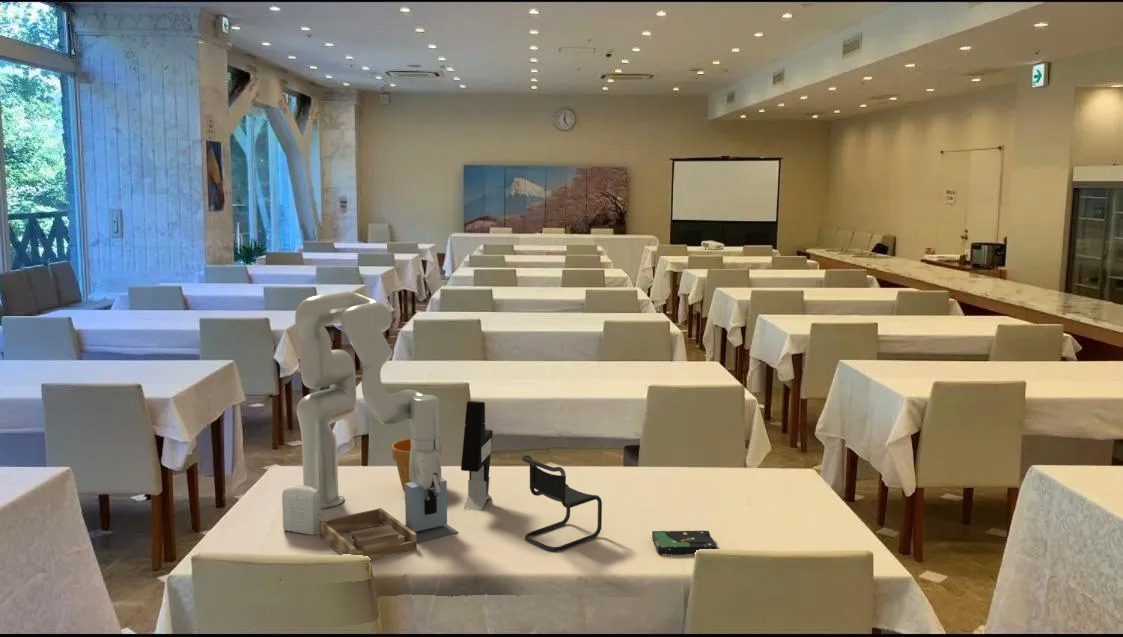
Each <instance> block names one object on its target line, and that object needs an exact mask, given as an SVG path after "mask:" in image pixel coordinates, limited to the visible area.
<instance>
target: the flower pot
mask: <svg viewBox="0 0 1123 637" xmlns="http://www.w3.org/2000/svg"><path fill="white" fill-rule="evenodd" d="M410 450H411V438H406V439H405V438H404V439H401V440H398V441H396V442H394V443H392V446H391V453H392V459H393V461H394V462H395V463H396V467H397V472H398V475H399V480H400V484H401V488H402V487H403V488H402V489H403V490H404V489H405V483H409V482H411V481H410V480H409V460H410ZM439 453H440V454H441V443H440V449H439Z"/></svg>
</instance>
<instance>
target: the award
mask: <svg viewBox="0 0 1123 637" xmlns="http://www.w3.org/2000/svg"><path fill="white" fill-rule="evenodd" d="M465 408H466V409H465V420H464V425H465V426H464V431H463V432H464V433H463V440H462V441H463V443H462V444H463V445H462V453H461V462H460V463H461V465H460V471H463V472H468V473H469V474H468V475H469V478H468V479H467V484H468V485H467V497H466V501H465V503H464V505H463V509H464V508H469V509H468V510H470V509H478V510H477V511H482V510H483V509H484V506H485V504H486V503H487V500H488V499H492V496H491V495H490V494H489V491H490V490H489V489H490V488H489V487H490V481H491V480H490V478H491V477H490V466H491V456H492V455H491V454H492V444H493V433H494V432H493V431H494V430H491V429H486V403H485V401H473V400H468V401H467V402H466V407H465Z"/></svg>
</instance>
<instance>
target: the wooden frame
mask: <svg viewBox="0 0 1123 637" xmlns="http://www.w3.org/2000/svg"><path fill="white" fill-rule="evenodd" d="M378 524H379V525H380V527H381V526H386V525H390V526H391V527H392V528H393V529H394V530H395V531H396V532H398V533H400V534H401V535H403V536H404V537H405V542H404V543H400V544H396V545H392V546H388V547H384V548H380V549H376V550H372V551H367V552H363V553H359V554H356V548H355V547H354V546H353V545H351V544H352V543H350V542H349V541H348V540H347V539H345V538H344V537H343V536H342V535H341V534H344V533H347V532H353V531H358V530H359V529H360V530H362V529H364V528H365V529H367V528H370V527H373V526H379V525H378ZM405 525H406V524H404V523H403V522H401V521H400V520H398V519H397V518H395V517H394V516H393V515H391V514H390V513H388V512H387V511H386V510H384V509H383V508H381V507H379V508H376V509H371V510H367V511H362V512H357V513H352V514H348V515H344V516H339V517H335V518H334V517H333V518H330V519H325V520H321V521H320V533H319V537H320V536H321V537H320V538H322V540H324V541H325V542H326V543H327V545H329V544H330V545H331V546H330V545H329V546H330V547H332V548H333V549H334V551H336V550H337V551H336V552H337V553H338V552H339V553H341V554H351V555H363V556H368V557H369V558H370V559H371V560H370V561H374V560H378V559H381V558H385V556H386V557H390V556H393V554H394V555H398V554H402V553H405V552H409V551H414V550H417V549H418V548H417V547H418V546H417V545H418V543H417V540H416V533H415V532H413V531H412V530H411V529H409V528H408V527H406V526H405ZM369 526H370V527H369ZM339 553H338V554H339ZM341 554H340V555H341ZM389 555H390V556H389Z"/></svg>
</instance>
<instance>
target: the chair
mask: <svg viewBox="0 0 1123 637" xmlns="http://www.w3.org/2000/svg"><path fill="white" fill-rule="evenodd" d="M521 460H522V461H523V462H524V463H527V464H529V490H530V493H531V494H532V495H534V496H537V497H539V496H542V495H543V496H544V497H546V498H549V499H551V500H553V501H556V502H560V503H561V504H562V506H563V508H565V509H566V512H565V517H564V519H563V520H561V521H558V522H556V523H552V524H550V525H546V526H544V527H540V528H538V529H536V530H535V529H534V530H532V531H530V532H529V531H528V532H527V533H526V534H525V535H524V539H525V541H527V542H528V543H530V544H533V545H534V546H537V547H538V548H539V547H540V548H541V549H543V548H544V549H543V550H545V549H546V551H548V550H551V551H550V552H559V551H558V550H561V551H563V549H564V550H566V549H569V548H571V546H572V547H574V546H576V545H579V544H581V543H584V542H587V541H590V540H593V539H596V538H597V537H598V536H599V534H600V532H601V530H602V526H603V525H602V524H603V523H602V522H603V516H602V513H603V511H602V510H603V501H602V498H601V497H600V496H599V495H596V494H590V493H589V494H588V493H585V492H581V491H578V490H576V489H574V488H572V487H570V486H569V485H568V484H567V483H566V482H567V476H566V475H567V474H566V470H565V469H564V468H563V467H561V466H556V467H555V466H550V465H547V464H544V463H541V462H540V461H539V462H538V461H536V460H534V459H533V458H532V457H531V455H523V456H522V457H521ZM542 469H543V470H542ZM544 470H546V471H550V472H552V473H549V472H546V471H544ZM553 472H560V475H559V474H553ZM594 500H596V501H597V524H596V525H597V526H596V530H595V531H594V533H592V534H589V535H587V536H584V537H581V538H578V539H576V540H572V541H569V542H568V543H565V544H563V545H560V546H559V545H558V546H549V545H547V544H544V543H542V542H540V541H538V540H536V539H533V538H531V537H533V536H536V535H539V534H542V533H545V532H547V530H548V531H550V530H553V529H555V527H556V528H559V527H562V526H564V525H565V524H567V523H568V521H569V519H570V517H571V508H574V507H577V506H580V505H583V504H586V503H589V502H592V501H594ZM561 525H562V526H561ZM544 531H545V532H544Z"/></svg>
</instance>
